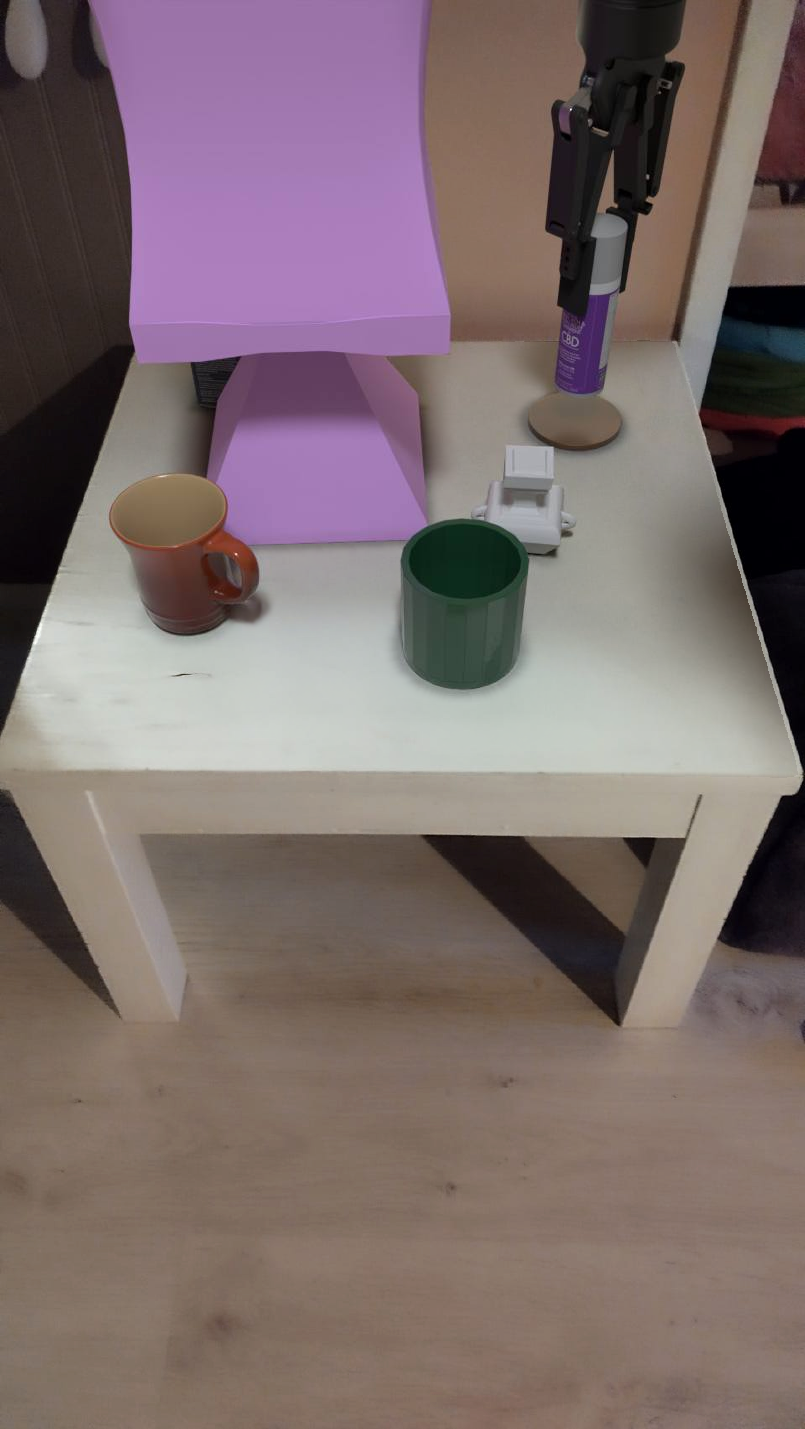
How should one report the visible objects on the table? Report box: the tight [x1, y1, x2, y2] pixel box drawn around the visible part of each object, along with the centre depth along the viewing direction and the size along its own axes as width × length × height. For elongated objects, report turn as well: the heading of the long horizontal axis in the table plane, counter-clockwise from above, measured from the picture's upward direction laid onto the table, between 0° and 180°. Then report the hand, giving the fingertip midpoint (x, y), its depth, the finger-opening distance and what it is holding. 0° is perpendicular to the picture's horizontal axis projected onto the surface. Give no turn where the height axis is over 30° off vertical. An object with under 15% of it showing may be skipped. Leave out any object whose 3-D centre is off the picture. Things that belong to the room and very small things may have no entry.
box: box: [189, 356, 242, 409], centre depth 99 cm, size 8×6×11 cm
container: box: [553, 212, 628, 399], centre depth 90 cm, size 5×5×15 cm
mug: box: [108, 472, 260, 634], centre depth 78 cm, size 12×9×10 cm
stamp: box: [470, 444, 578, 555], centre depth 85 cm, size 9×7×8 cm
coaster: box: [527, 392, 623, 452], centre depth 98 cm, size 9×9×1 cm
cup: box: [399, 517, 530, 690], centre depth 76 cm, size 9×9×9 cm
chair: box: [87, 0, 451, 546], centre depth 77 cm, size 22×22×45 cm
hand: (591, 297), depth 89 cm, fingers closed on container, 5 cm apart
